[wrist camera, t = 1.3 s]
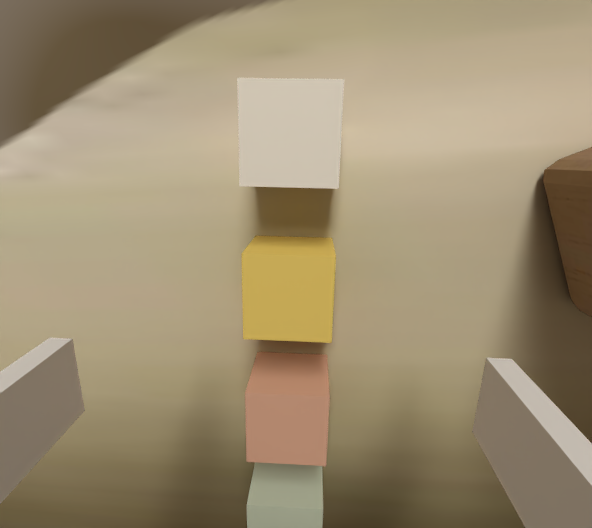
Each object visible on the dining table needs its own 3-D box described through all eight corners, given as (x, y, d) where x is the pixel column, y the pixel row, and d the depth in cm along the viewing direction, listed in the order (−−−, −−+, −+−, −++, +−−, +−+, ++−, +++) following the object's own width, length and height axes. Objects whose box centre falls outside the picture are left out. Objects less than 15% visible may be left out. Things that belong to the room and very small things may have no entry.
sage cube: (319, 502, 30) (320, 566, 25) (258, 498, 31) (247, 561, 26) (321, 451, 29) (323, 509, 24) (258, 448, 29) (246, 504, 24)
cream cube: (333, 182, 23) (338, 188, 19) (255, 181, 24) (239, 186, 19) (337, 96, 22) (344, 79, 17) (254, 95, 22) (237, 77, 17)
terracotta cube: (324, 413, 28) (326, 466, 23) (258, 410, 28) (246, 461, 23) (326, 354, 27) (329, 396, 22) (257, 351, 27) (245, 392, 22)
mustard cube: (328, 308, 26) (331, 342, 21) (256, 305, 26) (243, 339, 21) (331, 237, 24) (335, 256, 20) (256, 235, 25) (241, 253, 20)
